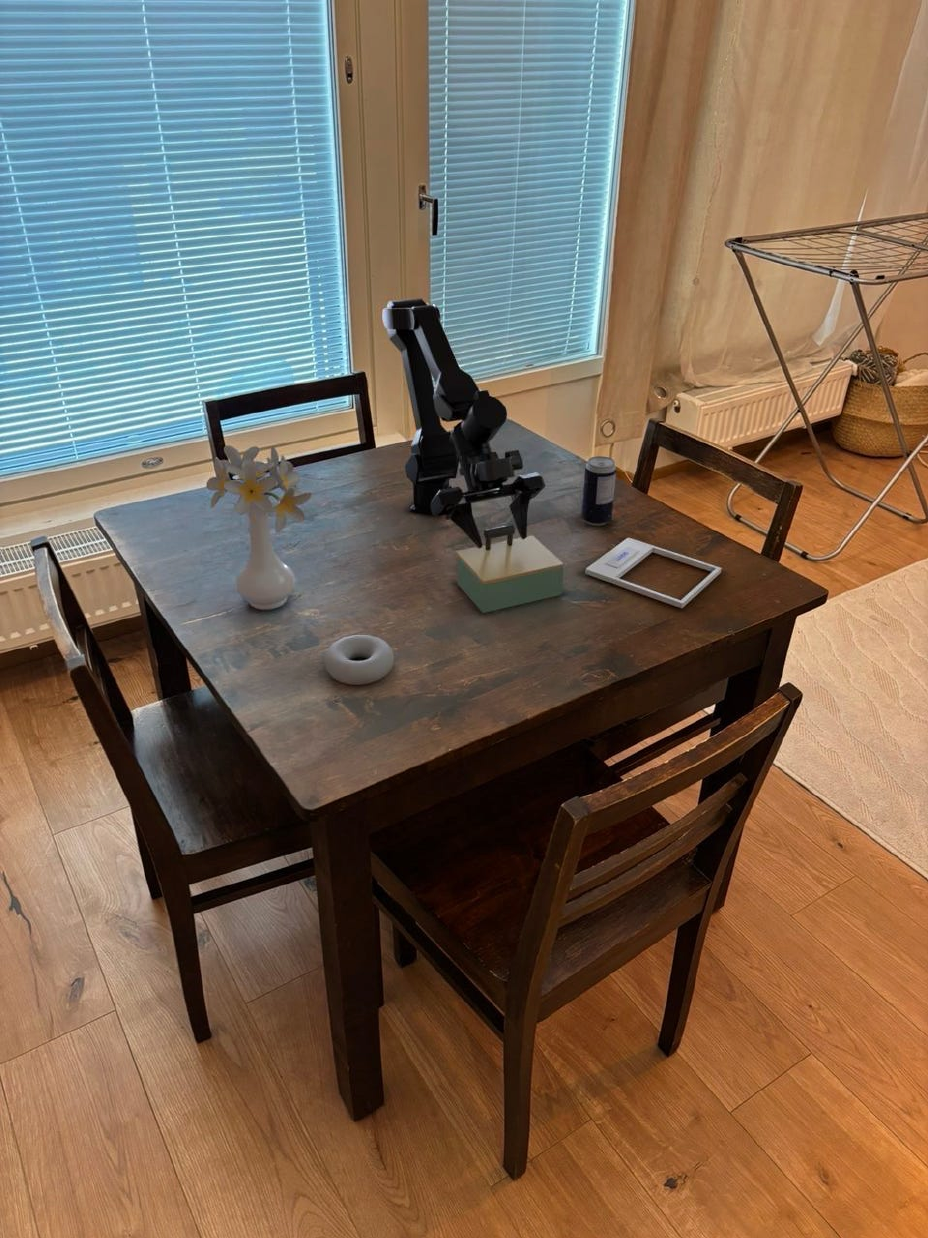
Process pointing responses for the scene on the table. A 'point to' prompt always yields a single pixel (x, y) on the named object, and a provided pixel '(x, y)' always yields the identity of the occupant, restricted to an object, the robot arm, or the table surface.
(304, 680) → the table surface
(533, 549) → the lunchbox lid
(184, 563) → the table surface
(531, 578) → the lunchbox
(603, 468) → the beverage can
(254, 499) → the flower vase
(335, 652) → the donut
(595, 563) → the photo frame
